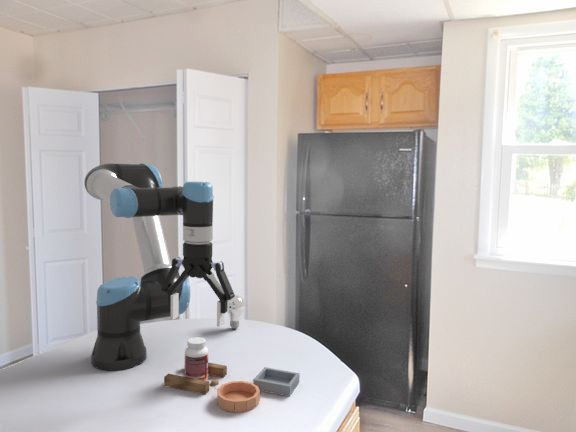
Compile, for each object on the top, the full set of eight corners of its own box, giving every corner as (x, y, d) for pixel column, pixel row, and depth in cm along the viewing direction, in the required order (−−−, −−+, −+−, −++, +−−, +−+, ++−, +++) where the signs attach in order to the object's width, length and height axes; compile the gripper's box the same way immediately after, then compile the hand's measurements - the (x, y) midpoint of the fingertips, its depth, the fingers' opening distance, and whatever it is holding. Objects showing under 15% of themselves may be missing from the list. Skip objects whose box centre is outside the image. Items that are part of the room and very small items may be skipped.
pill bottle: (211, 382, 124) (212, 342, 123) (189, 387, 121) (190, 346, 120) (202, 373, 129) (202, 334, 128) (181, 378, 126) (181, 338, 125)
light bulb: (222, 331, 161) (222, 297, 160) (228, 324, 168) (228, 292, 167) (241, 333, 160) (242, 299, 159) (246, 326, 167) (247, 293, 166)
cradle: (164, 385, 121) (164, 376, 121) (188, 367, 133) (188, 358, 132) (207, 394, 117) (207, 385, 117) (228, 374, 129) (228, 366, 129)
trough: (253, 389, 121) (253, 379, 121) (264, 376, 129) (264, 367, 128) (289, 396, 118) (290, 386, 118) (299, 382, 125) (299, 373, 125)
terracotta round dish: (209, 407, 112) (209, 396, 111) (228, 388, 121) (228, 378, 121) (249, 415, 108) (249, 404, 108) (265, 395, 118) (265, 385, 118)
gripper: (147, 240, 121) (148, 319, 124) (235, 248, 113) (234, 332, 116) (164, 236, 128) (164, 311, 131) (248, 243, 121) (246, 323, 123)
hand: (197, 321), depth 123 cm, fingers open, 13 cm apart
